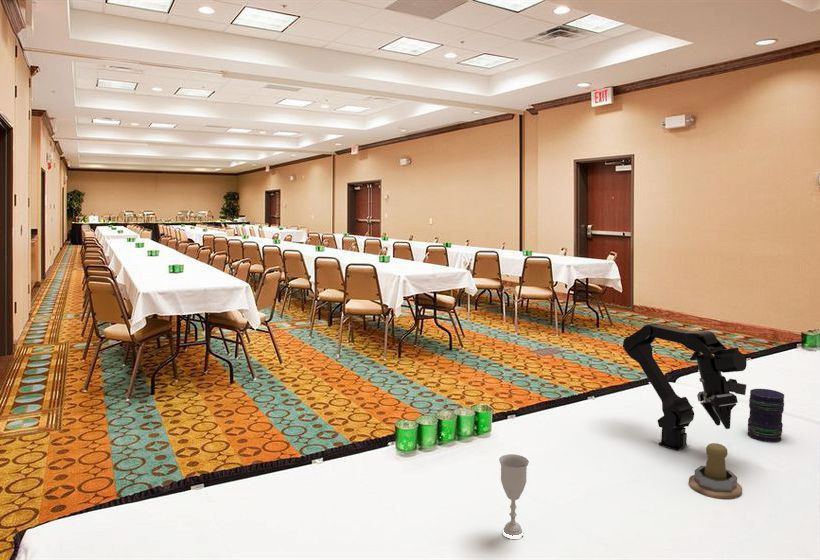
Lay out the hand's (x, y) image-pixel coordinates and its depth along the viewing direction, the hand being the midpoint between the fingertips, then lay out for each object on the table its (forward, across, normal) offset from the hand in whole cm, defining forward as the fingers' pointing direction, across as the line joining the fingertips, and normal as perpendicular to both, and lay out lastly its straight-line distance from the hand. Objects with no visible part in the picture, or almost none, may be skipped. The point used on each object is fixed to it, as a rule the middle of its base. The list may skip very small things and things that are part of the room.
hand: (723, 426), depth 176 cm
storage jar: (+9, +28, -19) cm, 35 cm away
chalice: (+11, -46, +62) cm, 78 cm away
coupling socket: (+14, -13, +9) cm, 21 cm away
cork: (+13, -13, +9) cm, 20 cm away
